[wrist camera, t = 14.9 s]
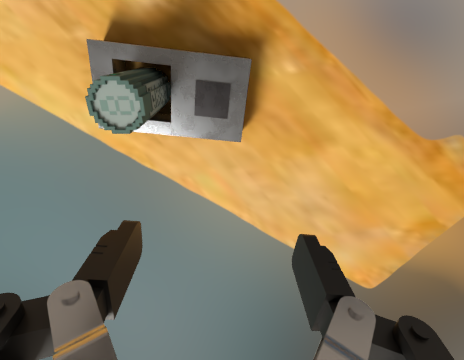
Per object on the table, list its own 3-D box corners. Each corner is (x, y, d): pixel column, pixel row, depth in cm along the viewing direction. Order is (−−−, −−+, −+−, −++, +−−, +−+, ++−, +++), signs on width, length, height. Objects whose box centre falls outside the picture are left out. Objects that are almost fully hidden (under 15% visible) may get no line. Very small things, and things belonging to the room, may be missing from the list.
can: (130, 67, 39) (79, 76, 26) (169, 67, 39) (139, 76, 26) (136, 107, 42) (94, 133, 28) (173, 107, 42) (147, 133, 28)
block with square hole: (103, 40, 37) (85, 39, 32) (248, 58, 39) (251, 59, 34) (112, 120, 43) (98, 128, 38) (239, 132, 44) (240, 142, 39)
